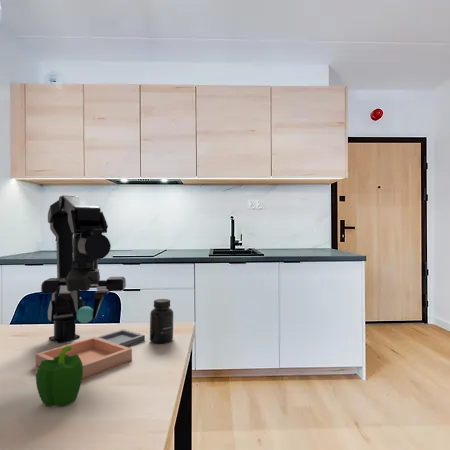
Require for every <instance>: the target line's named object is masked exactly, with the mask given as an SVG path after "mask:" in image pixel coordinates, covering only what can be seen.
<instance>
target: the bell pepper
mask: <svg viewBox="0 0 450 450" xmlns="http://www.w3.org/2000/svg"><path fill="white" fill-rule="evenodd" d="M71 349H72V347H71V346H66V347H65V348H63V349H62V351H61V352H60V356H58V357H55V358H54V359H53V360H44V361H41V364H40V366H39V368H38V367H37V370H36V373H35V385H36V388H37V392H38V395H39V399H40V400H41V402H42V403H43V404H44V406H46V407H51V406H52V407H53V406H57V407H64V406H65V407H66V406H68V405H70V404H72V403H73V402H75V401H76V399H77V397H78V396H79V392H80V389H81V385H82V381H83V380H82V376H83V365H82V362H81V360H80V358H79V356H78V355H73V356H68V355H65V353H66V352H67V351H70V350H71Z"/></svg>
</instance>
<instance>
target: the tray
mask: <svg viewBox="0 0 450 450" xmlns="http://www.w3.org/2000/svg"><path fill="white" fill-rule="evenodd" d="M96 337H97V338H100V339H104V340H107V341H110V342H113V343H116V344H119V345H122V346H125V347H128V348H129V347H131V346H133V345H136V344H139V343H142V342H144V341H145V338H146V336H145V334H141V333H137V332H134V331H130V330H127V329H119V330H116V331H114V332H110V333H107V334H104V335H103V334H102V335H99V336H96Z"/></svg>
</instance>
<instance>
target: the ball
mask: <svg viewBox="0 0 450 450" xmlns="http://www.w3.org/2000/svg"><path fill="white" fill-rule="evenodd" d="M93 309H94V308H92V307H91V306H86V305H85V306H84V305H83V307H81V308H80V309H79V310H78V312H77V315H76V316H77V321H79V323H82V324H87V323H89V322H91V321H92V320H94V319H93Z"/></svg>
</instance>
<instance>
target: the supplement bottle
mask: <svg viewBox="0 0 450 450" xmlns="http://www.w3.org/2000/svg"><path fill="white" fill-rule="evenodd" d="M170 307H171V299H167V298H158V299H155V300H153V309H152V310H150V312H149V313H150V314H149V316H150V317H149V341H150V342H151V344H155V345H166V344H169V343H171V342H172V341H173V339H174V310H173V309H172V308H170Z"/></svg>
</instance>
